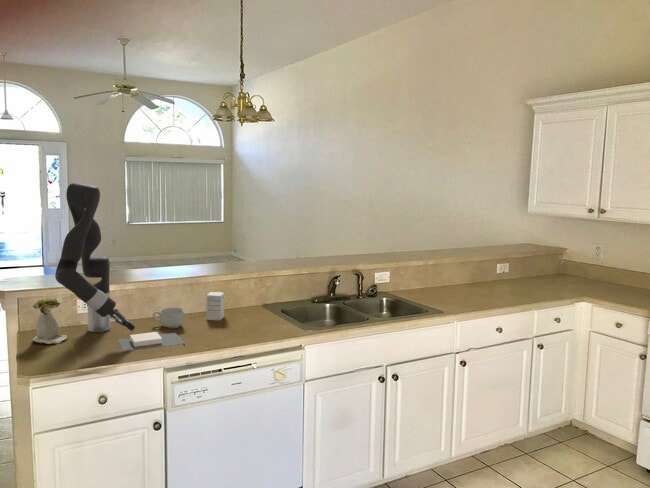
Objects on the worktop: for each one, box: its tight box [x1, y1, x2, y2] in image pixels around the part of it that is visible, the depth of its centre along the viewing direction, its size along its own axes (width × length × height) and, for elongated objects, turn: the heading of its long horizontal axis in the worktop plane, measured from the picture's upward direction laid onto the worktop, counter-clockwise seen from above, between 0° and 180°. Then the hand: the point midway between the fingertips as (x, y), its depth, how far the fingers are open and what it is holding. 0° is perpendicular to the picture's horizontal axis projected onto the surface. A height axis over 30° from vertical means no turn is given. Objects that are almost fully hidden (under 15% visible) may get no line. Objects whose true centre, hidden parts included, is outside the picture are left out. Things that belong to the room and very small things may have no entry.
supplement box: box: [206, 291, 225, 321], centre depth 254 cm, size 7×7×13 cm
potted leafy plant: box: [31, 297, 68, 345], centre depth 213 cm, size 12×13×18 cm
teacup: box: [152, 306, 185, 330], centre depth 238 cm, size 14×11×8 cm
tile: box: [129, 331, 162, 347], centre depth 213 cm, size 10×2×11 cm
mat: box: [117, 332, 185, 353], centre depth 214 cm, size 16×24×1 cm, turn 120°
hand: (133, 328), depth 210 cm, fingers closed
